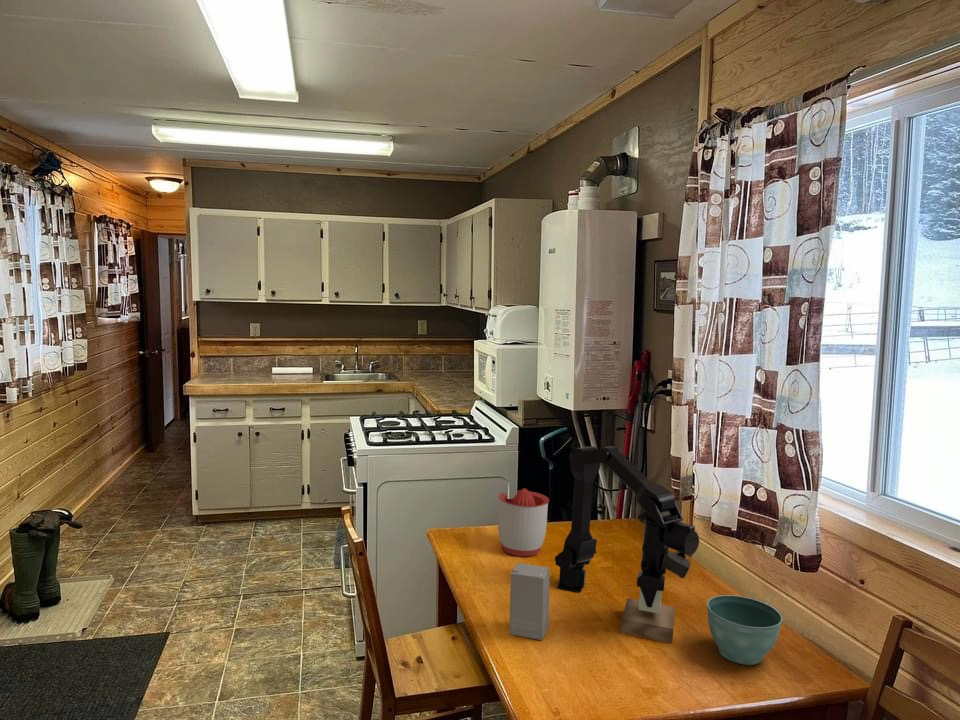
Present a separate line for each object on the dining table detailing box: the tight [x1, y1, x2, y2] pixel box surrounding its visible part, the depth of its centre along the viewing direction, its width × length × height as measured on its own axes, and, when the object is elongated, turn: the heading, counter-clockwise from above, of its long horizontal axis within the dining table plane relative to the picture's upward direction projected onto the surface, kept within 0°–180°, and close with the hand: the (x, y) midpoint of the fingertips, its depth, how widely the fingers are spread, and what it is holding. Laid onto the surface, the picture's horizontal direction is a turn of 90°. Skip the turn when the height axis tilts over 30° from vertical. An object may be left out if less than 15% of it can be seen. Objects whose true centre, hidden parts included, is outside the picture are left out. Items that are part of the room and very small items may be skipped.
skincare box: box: [509, 562, 550, 641], centre depth 162 cm, size 8×7×16 cm
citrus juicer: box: [497, 487, 550, 558], centre depth 214 cm, size 16×17×20 cm
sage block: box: [638, 587, 663, 614], centre depth 169 cm, size 5×5×6 cm
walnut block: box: [620, 598, 676, 644], centre depth 169 cm, size 12×12×4 cm
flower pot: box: [706, 594, 783, 666], centre depth 158 cm, size 16×16×11 cm
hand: (650, 602), depth 169 cm, fingers closed on sage block, 5 cm apart
